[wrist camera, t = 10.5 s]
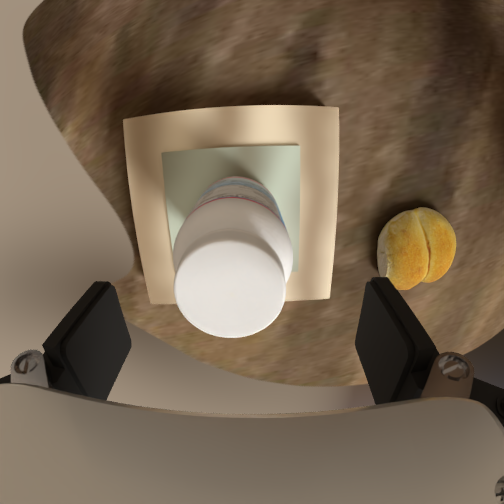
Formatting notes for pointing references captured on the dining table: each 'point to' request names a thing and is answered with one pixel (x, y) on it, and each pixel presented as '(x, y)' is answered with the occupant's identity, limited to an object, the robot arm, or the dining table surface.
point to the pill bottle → (232, 259)
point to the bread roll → (415, 248)
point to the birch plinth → (243, 165)
